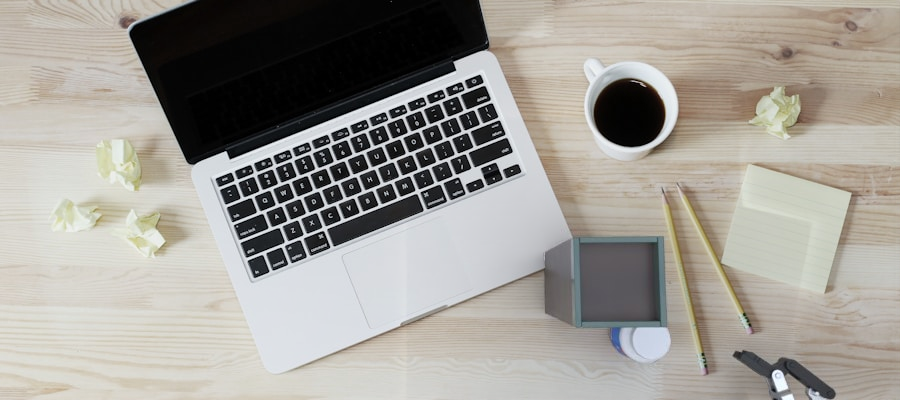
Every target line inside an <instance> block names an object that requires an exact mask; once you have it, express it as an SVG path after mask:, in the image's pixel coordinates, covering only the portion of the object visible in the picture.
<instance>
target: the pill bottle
mask: <svg viewBox="0 0 900 400" xmlns="http://www.w3.org/2000/svg"><path fill="white" fill-rule="evenodd" d="M608 335H609V341H610V343H611V345H612V346H613V348H614V349H615V350H616V351H617V352H618V353H619V354H620V355H623V356H624V357H626V358H629V359H630V360H632V361H634V362H637V363H641V364H651V363H654V362H658V361H659V360H660V359H662V358H663V357H665V355H666V354H667V353H668V352H669V350H670V348H671V345H672V344H671V343H672V338H671V333H670V330H669V327H668V326H667V327H637V328H609V332H608Z"/></svg>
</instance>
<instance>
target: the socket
mask: <svg viewBox="0 0 900 400" xmlns="http://www.w3.org/2000/svg"><path fill="white" fill-rule="evenodd" d="M570 239H571V280H572V322H573V326H572V327H573V328H575V329H578V328H579V329H580V328H582V329H584V328H585V329H588V328H590V329H592V328H593V329H597V328H599V329H601V328H608V329H610V328H637V327H668V312H667V311H668V310H667V285H666V283H667V282H666V260H665V237H664V235H659V236H658V235H657V236H656V235H655V236H654V235H651V236H647V235H646V236H645V235H644V236H642V235H641V236H639V235H638V236H636V235H635V236H633V235H632V236H573V237H570ZM580 244H652V248H653V275H654V302H655V320H582V316H581V276H580Z"/></svg>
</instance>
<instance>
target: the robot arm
mask: <svg viewBox="0 0 900 400" xmlns="http://www.w3.org/2000/svg"><path fill="white" fill-rule="evenodd" d="M731 357H733V358H734V359H735V360H737V361H739V362H740V363H741V364H743V365H744V366H745V367H747V368H749V369H750V370H751V371H753V372H755V373H756V374H757V375H759V376H761V377H764V379H765V381H766V384H767V387H768V394H769V396H770V400H795V397H794V394H793V392H792V390H791V389H790V388H789V385H788V382H787V381H786V376H787V375H790V376H791V377H792V378H793V379H794V380H796V381H797V382H799V383H800V384H801V385H802V386H804V388H805V389H804V393H805V395H806V396H807V398H808V400H834V399H835V398H836V397H837V393H836V390H835V389H834V388H832V387H831V386H829V385H828V383H825V382H824V381H823V380H822V379H820V378H819V377H818V376H817V375H815V374H814V373H813V372H812V371H810V370H809V369H808V368H806V367H805V366H804V365H802V364H801V363H799V362H798V361H797V360H796V359H794V358H788V357H785V356H782V357H781V356H780V357H779V358H778V360H777V361H776V362H775V363H773V364H771V363H770V362H767V360H765V359H763V358H762V357H760V356H758V355H757V354H755V353H754V352H753V351H750V350H745V349H742V350H741V351H739V350H734V353H733V354H732V356H731Z"/></svg>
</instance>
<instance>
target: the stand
mask: <svg viewBox="0 0 900 400" xmlns="http://www.w3.org/2000/svg"><path fill="white" fill-rule="evenodd" d="M544 252H545V268H544V267H543V269H544V270H543V277H544V280H543V281H544V285H543V286H544V314H546V315H549V316H550V317H553V318H555V319H557V320H559V321H561V322H563V323H565V324H568V325H569V326H571V327H574V326H573V322H572V280H571V238H569V239H568V240H566V241H563V242H561V243H560V244H558V245H556V246H553V247H552V248H550V249H548V250H546V251H544ZM580 276H581V316H582V320H655V302H654V275H653V248H652V244H580Z"/></svg>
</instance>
